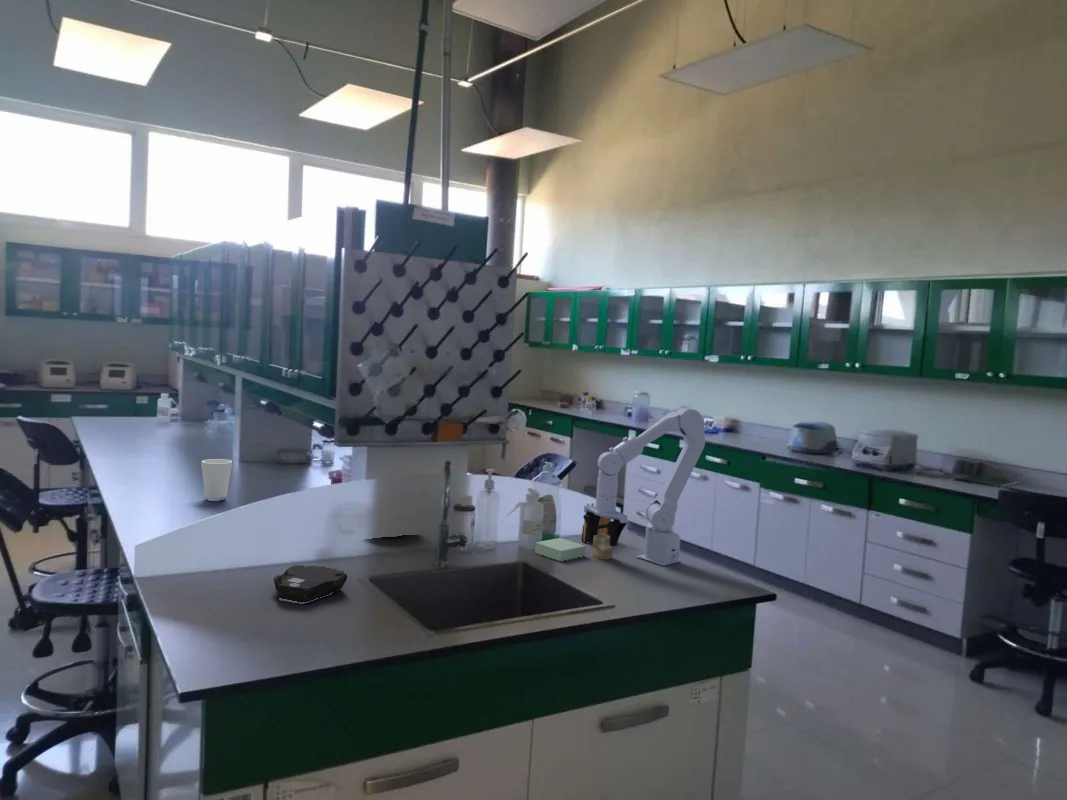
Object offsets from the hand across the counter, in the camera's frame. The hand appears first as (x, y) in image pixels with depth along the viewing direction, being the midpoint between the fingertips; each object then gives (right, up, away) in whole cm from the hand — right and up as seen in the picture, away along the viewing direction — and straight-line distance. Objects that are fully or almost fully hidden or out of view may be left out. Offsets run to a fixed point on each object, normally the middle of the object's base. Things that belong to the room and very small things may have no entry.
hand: (602, 542), depth 215 cm
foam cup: (-126, +7, +40) cm, 132 cm away
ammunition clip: (0, -3, +18) cm, 18 cm away
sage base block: (-12, -3, 0) cm, 13 cm away
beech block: (0, -4, 0) cm, 4 cm away
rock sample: (-70, -4, -44) cm, 83 cm away
